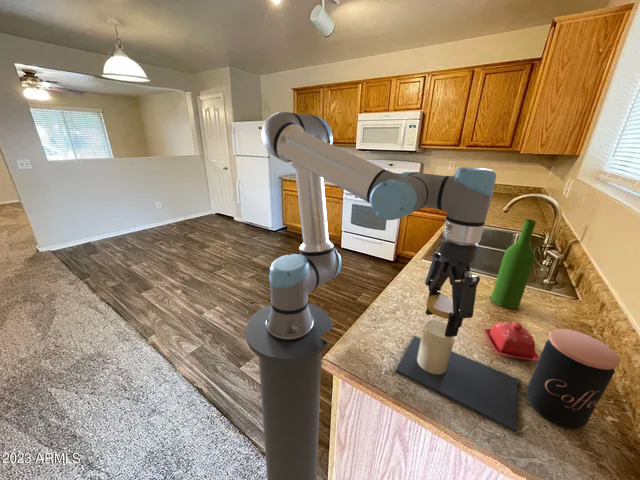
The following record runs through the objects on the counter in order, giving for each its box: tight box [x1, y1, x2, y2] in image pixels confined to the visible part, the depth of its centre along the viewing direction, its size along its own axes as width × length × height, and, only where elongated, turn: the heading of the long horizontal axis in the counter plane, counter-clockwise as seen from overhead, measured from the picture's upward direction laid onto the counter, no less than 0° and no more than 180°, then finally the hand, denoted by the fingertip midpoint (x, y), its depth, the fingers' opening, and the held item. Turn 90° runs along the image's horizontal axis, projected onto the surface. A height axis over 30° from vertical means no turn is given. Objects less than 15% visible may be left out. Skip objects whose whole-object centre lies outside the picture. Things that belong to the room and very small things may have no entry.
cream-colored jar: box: [417, 319, 456, 374], centre depth 69 cm, size 8×8×11 cm
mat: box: [395, 335, 518, 433], centre depth 68 cm, size 26×16×1 cm, turn 55°
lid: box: [426, 294, 460, 320], centre depth 65 cm, size 8×8×2 cm
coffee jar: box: [526, 328, 621, 429], centre depth 57 cm, size 11×11×18 cm
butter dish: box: [483, 321, 540, 362], centre depth 77 cm, size 12×12×8 cm
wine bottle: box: [490, 218, 537, 310], centre depth 95 cm, size 9×9×32 cm
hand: (440, 323), depth 67 cm, fingers closed on lid, 8 cm apart
